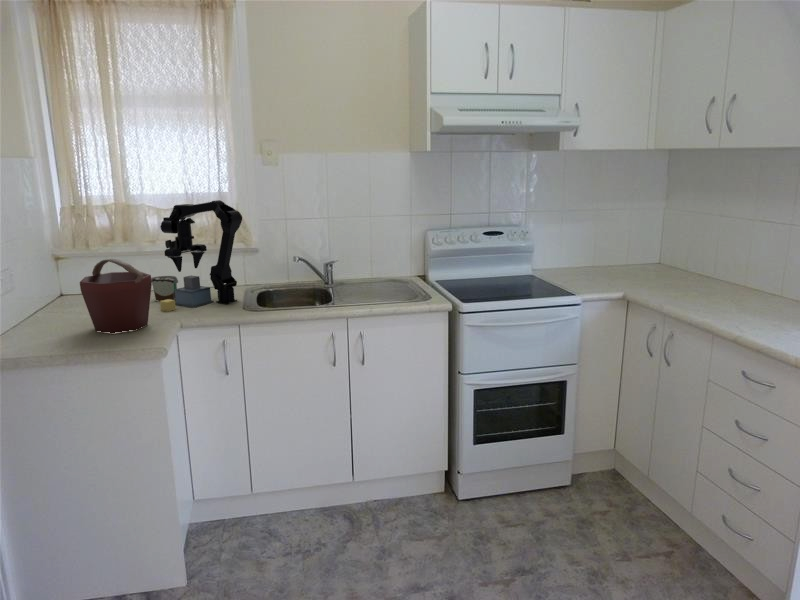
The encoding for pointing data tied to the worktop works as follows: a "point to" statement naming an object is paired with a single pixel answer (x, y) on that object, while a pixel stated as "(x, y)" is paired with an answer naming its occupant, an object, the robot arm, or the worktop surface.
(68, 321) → the worktop surface
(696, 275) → the worktop surface
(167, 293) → the food container
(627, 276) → the worktop surface
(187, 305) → the mat
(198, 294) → the cover
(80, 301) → the worktop surface
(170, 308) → the block
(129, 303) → the bucket
